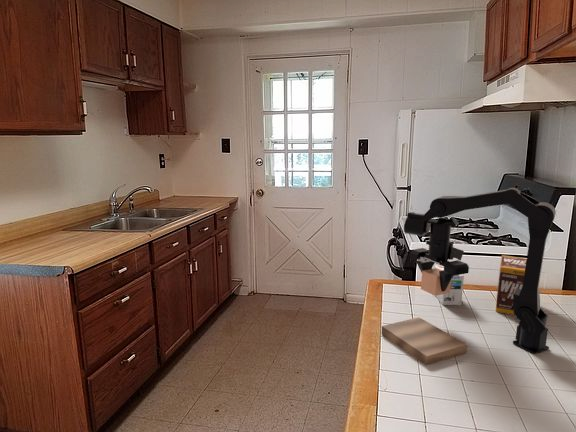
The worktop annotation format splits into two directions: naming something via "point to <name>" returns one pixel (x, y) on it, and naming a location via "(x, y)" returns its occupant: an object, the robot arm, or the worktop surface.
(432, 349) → the walnut block
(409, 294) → the worktop surface
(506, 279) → the supplement box
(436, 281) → the terracotta cube
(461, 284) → the light bulb box
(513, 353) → the worktop surface
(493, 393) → the worktop surface
